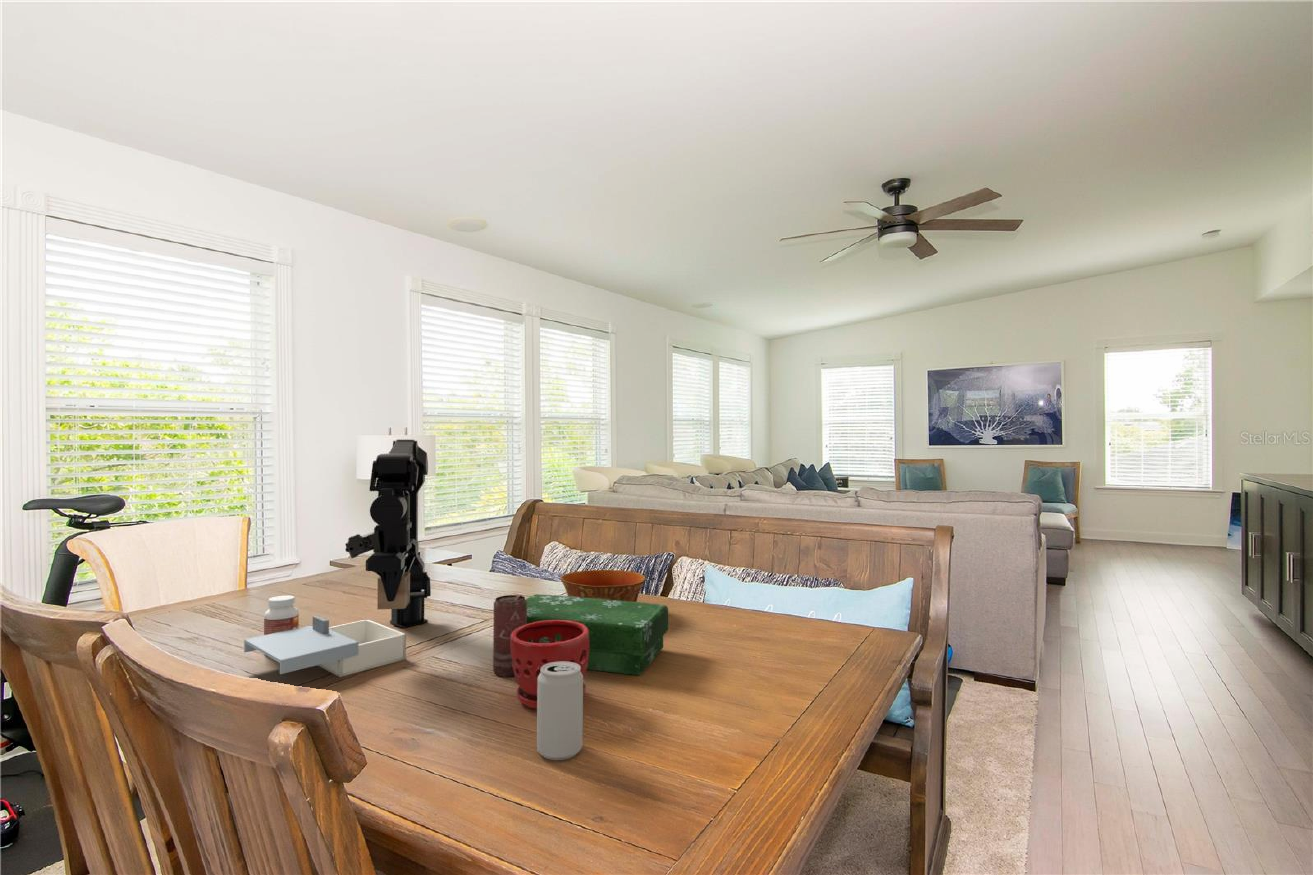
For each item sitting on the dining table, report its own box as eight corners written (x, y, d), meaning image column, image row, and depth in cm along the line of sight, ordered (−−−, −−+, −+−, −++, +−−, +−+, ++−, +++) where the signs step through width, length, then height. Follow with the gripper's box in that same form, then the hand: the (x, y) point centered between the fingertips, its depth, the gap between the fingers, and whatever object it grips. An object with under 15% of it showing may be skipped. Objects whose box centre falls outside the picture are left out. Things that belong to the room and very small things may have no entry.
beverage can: (538, 742, 96) (539, 660, 96) (583, 740, 96) (583, 659, 96) (534, 764, 90) (535, 675, 90) (581, 762, 90) (582, 674, 90)
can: (532, 668, 126) (533, 595, 126) (515, 679, 120) (515, 603, 120) (505, 664, 128) (506, 592, 128) (486, 675, 122) (487, 600, 122)
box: (670, 650, 138) (670, 602, 138) (643, 681, 121) (643, 626, 121) (534, 636, 148) (534, 591, 148) (491, 662, 130) (491, 612, 130)
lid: (318, 635, 134) (318, 611, 134) (358, 654, 123) (358, 628, 123) (244, 652, 124) (244, 626, 124) (280, 674, 113) (280, 645, 113)
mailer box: (367, 642, 141) (367, 619, 141) (405, 659, 131) (405, 634, 131) (303, 657, 131) (303, 632, 131) (339, 677, 121) (339, 650, 121)
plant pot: (520, 685, 118) (520, 618, 118) (593, 686, 117) (593, 619, 117) (500, 716, 105) (501, 641, 105) (583, 717, 104) (583, 642, 104)
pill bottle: (299, 653, 134) (300, 599, 134) (264, 659, 130) (265, 603, 130) (296, 645, 139) (297, 593, 139) (262, 650, 135) (263, 596, 135)
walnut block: (383, 602, 131) (383, 572, 131) (409, 601, 132) (410, 572, 132) (377, 609, 127) (377, 578, 126) (404, 608, 127) (404, 577, 127)
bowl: (598, 601, 178) (598, 564, 178) (662, 614, 166) (662, 574, 166) (542, 618, 161) (542, 577, 161) (608, 634, 149) (609, 590, 149)
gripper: (363, 512, 137) (362, 587, 137) (335, 526, 119) (335, 612, 119) (419, 512, 139) (418, 585, 139) (400, 525, 120) (400, 610, 121)
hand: (393, 597), depth 129 cm, fingers closed on walnut block, 5 cm apart
